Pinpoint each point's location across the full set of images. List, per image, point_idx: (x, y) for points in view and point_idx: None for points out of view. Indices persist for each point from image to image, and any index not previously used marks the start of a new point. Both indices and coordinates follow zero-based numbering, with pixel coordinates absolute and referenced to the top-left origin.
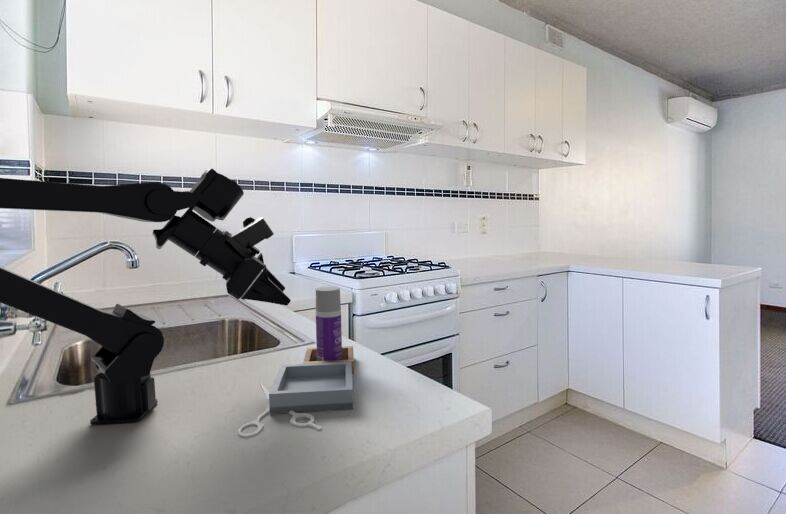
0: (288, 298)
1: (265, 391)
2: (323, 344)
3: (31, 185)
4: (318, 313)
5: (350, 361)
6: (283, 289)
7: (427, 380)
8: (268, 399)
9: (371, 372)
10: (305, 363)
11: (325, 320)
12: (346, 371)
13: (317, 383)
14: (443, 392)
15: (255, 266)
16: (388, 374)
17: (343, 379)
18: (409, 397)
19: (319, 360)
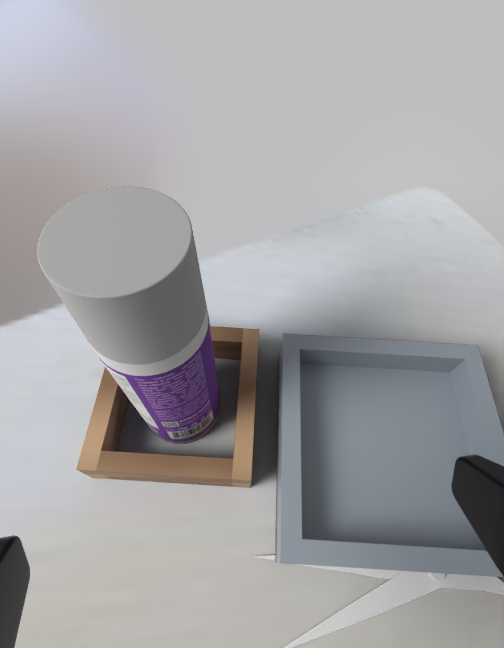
0: (500, 465)
1: (355, 615)
2: (210, 393)
3: None
4: (179, 356)
5: (258, 337)
6: (22, 554)
7: (313, 223)
8: (415, 594)
9: (248, 309)
10: (250, 470)
11: (206, 342)
12: (359, 350)
13: (348, 438)
14: (371, 213)
15: None
16: (268, 278)
17: (325, 370)
18: (393, 263)
19: (200, 427)
